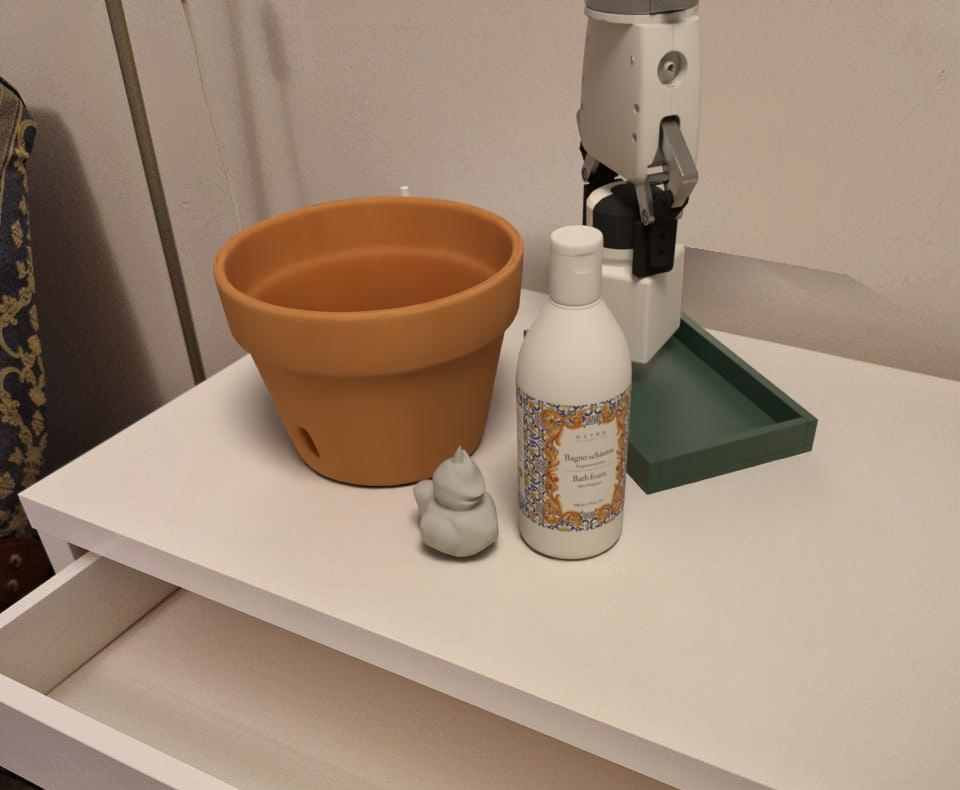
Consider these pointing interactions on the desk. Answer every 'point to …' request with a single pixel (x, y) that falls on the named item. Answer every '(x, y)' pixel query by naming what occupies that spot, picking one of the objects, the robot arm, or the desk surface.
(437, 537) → the rubber duck
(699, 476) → the tray
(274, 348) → the flower pot
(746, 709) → the desk surface
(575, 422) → the bath foam
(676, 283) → the medicine bottle
